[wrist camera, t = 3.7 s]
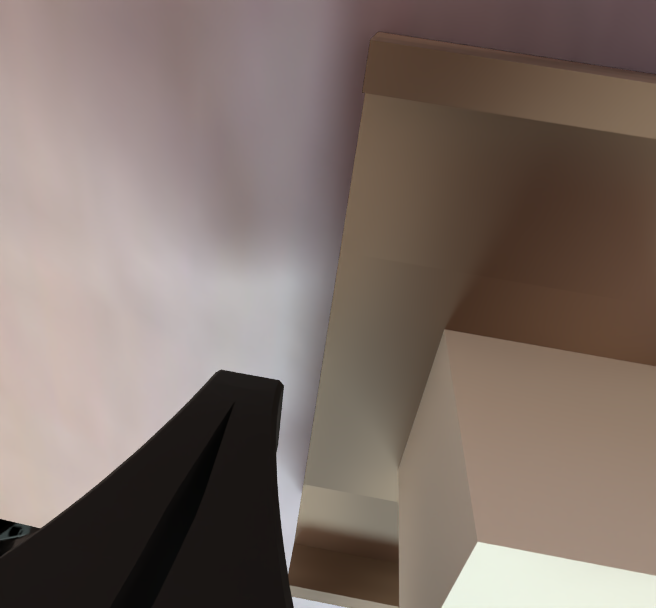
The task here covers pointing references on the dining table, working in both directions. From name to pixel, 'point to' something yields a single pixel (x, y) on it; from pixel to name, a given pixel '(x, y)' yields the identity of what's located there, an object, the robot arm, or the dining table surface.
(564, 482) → the cream block
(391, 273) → the brown shallow open box
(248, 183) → the dining table surface
